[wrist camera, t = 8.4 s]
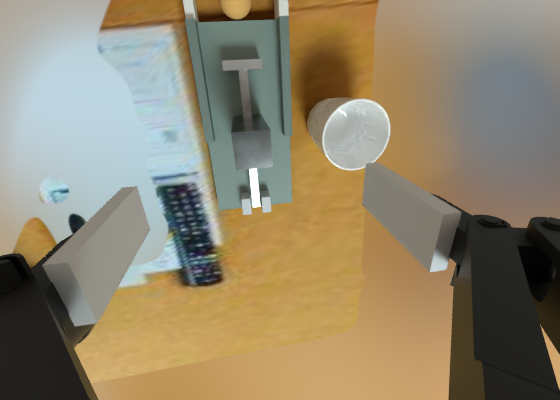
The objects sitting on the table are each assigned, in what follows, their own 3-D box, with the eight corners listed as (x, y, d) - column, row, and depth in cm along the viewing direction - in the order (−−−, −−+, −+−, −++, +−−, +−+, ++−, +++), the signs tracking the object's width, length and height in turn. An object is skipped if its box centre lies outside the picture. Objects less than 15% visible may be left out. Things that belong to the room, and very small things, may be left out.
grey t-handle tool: (240, 202, 39) (241, 245, 29) (222, 61, 31) (216, 55, 21) (270, 199, 40) (281, 240, 30) (260, 59, 32) (270, 52, 22)
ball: (219, -10, 31) (222, 25, 31) (215, -27, 27) (220, 11, 28) (249, -10, 31) (252, 24, 32) (250, -28, 28) (253, 10, 28)
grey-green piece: (220, 204, 41) (217, 222, 36) (178, -46, 29) (165, -74, 23) (289, 196, 43) (297, 213, 37) (280, -47, 30) (289, -73, 25)
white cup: (343, 154, 41) (373, 176, 32) (295, 142, 39) (312, 161, 30) (363, 102, 38) (402, 110, 29) (312, 85, 36) (337, 89, 27)
